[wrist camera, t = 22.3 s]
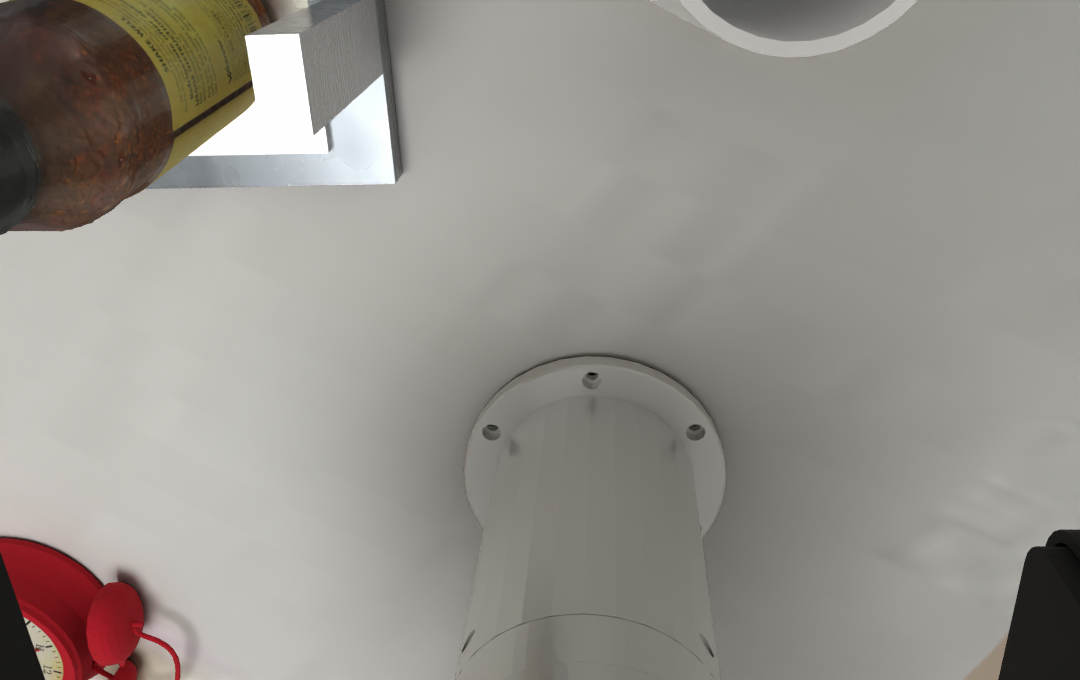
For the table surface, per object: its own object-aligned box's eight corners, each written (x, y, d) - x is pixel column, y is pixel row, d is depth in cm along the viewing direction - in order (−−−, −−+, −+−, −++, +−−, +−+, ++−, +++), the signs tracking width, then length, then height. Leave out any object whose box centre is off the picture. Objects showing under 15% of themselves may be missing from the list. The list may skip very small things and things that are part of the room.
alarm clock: (-131, 550, 48) (127, 673, 46) (-30, 487, 54) (204, 594, 52) (-124, 695, 53) (111, 813, 51) (-33, 623, 59) (183, 727, 57)
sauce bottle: (139, -74, 36) (-323, -16, 18) (300, -11, 37) (6, 103, 19) (112, 92, 39) (-310, 282, 21) (262, 148, 39) (-25, 378, 22)
